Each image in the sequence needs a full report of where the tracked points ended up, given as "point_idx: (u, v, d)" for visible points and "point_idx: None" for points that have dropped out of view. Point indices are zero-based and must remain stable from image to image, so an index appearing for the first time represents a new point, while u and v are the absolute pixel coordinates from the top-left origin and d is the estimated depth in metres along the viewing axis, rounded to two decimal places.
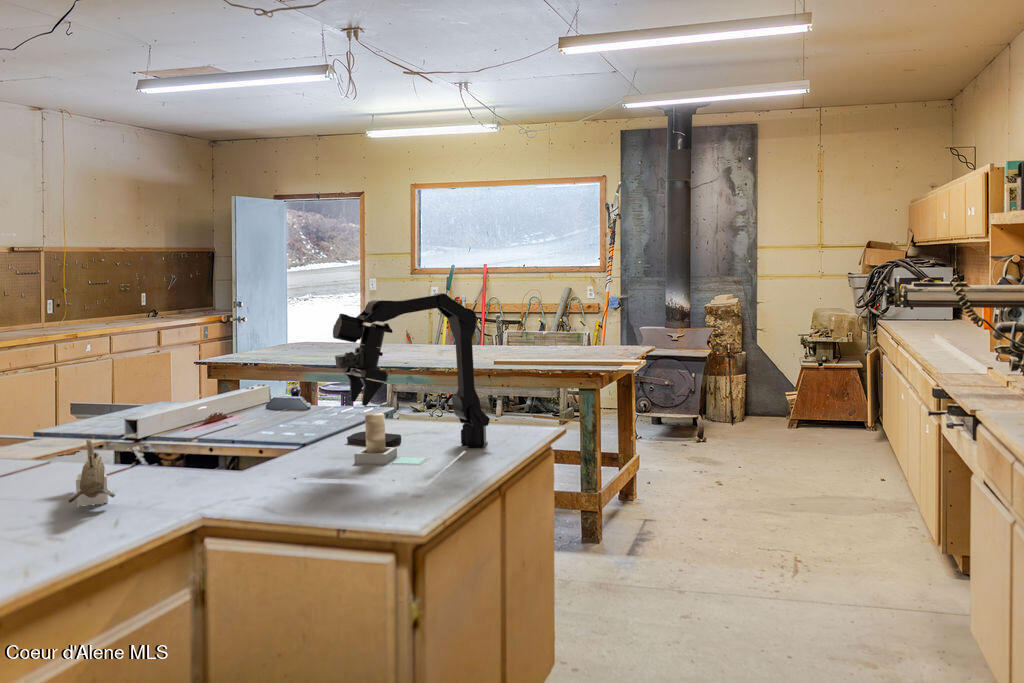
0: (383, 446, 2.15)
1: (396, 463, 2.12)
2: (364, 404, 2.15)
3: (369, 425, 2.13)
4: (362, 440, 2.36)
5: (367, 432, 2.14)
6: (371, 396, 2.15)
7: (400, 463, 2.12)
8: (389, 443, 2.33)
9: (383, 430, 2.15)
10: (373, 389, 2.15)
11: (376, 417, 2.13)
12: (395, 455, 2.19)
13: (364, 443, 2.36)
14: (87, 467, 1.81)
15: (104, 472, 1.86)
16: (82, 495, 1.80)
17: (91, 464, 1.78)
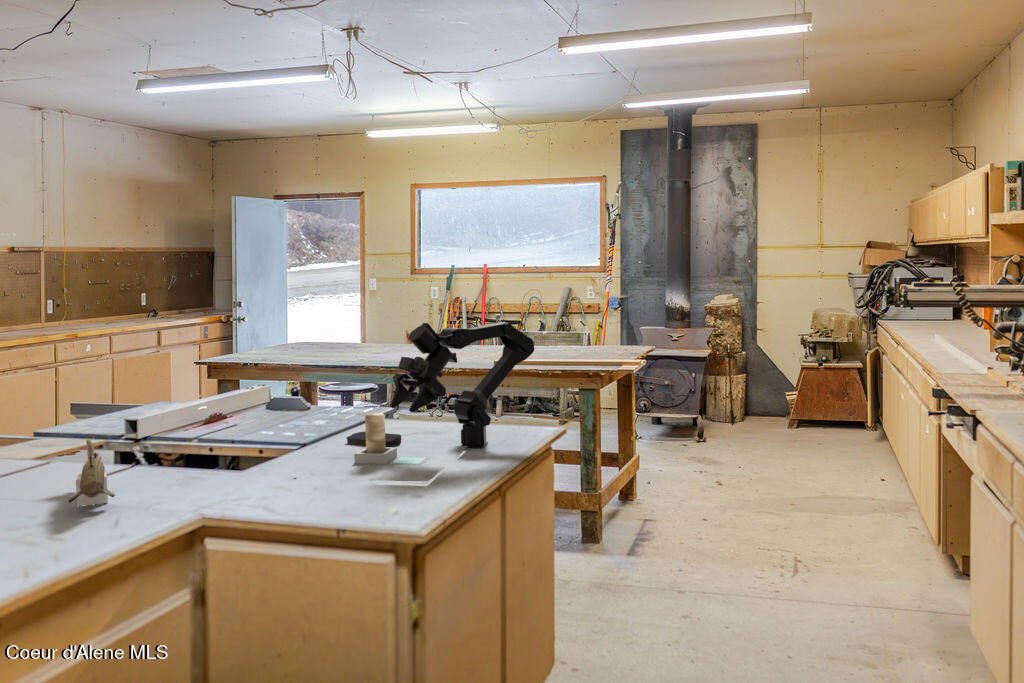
0: (383, 446, 2.15)
1: (396, 463, 2.12)
2: (411, 409, 2.17)
3: (369, 425, 2.13)
4: (362, 440, 2.36)
5: (367, 432, 2.14)
6: (420, 405, 2.18)
7: (400, 463, 2.12)
8: (389, 443, 2.33)
9: (383, 430, 2.15)
10: (425, 400, 2.19)
11: (376, 417, 2.13)
12: (395, 455, 2.19)
13: (364, 443, 2.36)
14: (87, 467, 1.81)
15: (104, 472, 1.86)
16: (82, 495, 1.80)
17: (91, 464, 1.78)
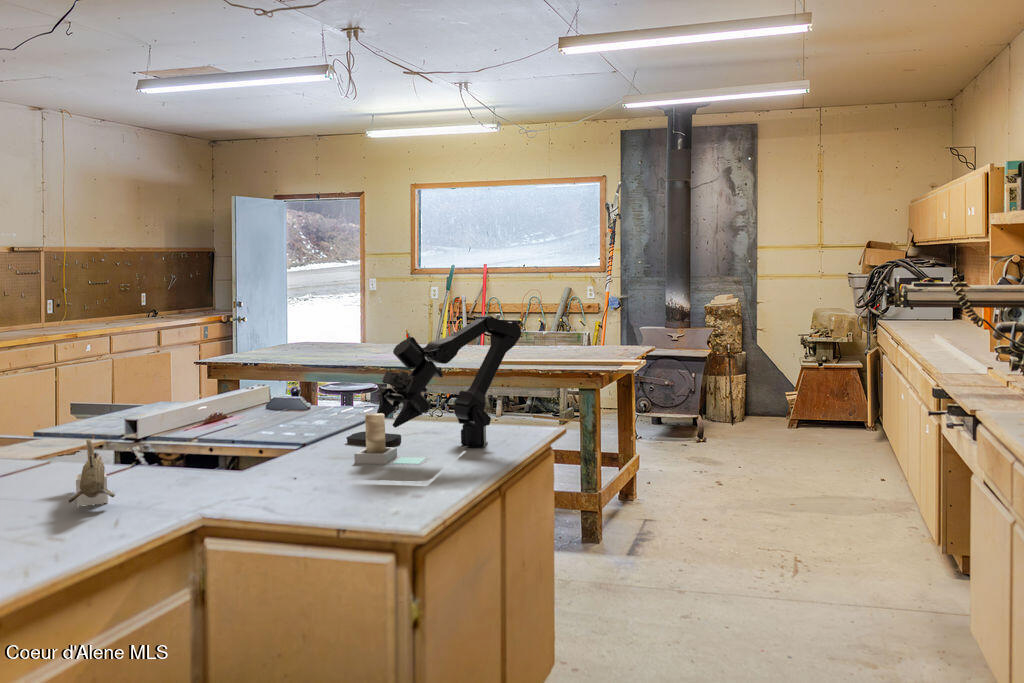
0: (383, 446, 2.15)
1: (396, 463, 2.12)
2: (395, 425, 2.14)
3: (369, 425, 2.13)
4: (362, 440, 2.36)
5: (367, 432, 2.14)
6: (404, 421, 2.15)
7: (400, 463, 2.12)
8: (390, 443, 2.33)
9: (383, 430, 2.15)
10: (409, 415, 2.15)
11: (376, 417, 2.13)
12: (395, 455, 2.19)
13: (364, 443, 2.35)
14: (87, 467, 1.81)
15: (104, 472, 1.86)
16: (82, 495, 1.80)
17: (91, 464, 1.78)
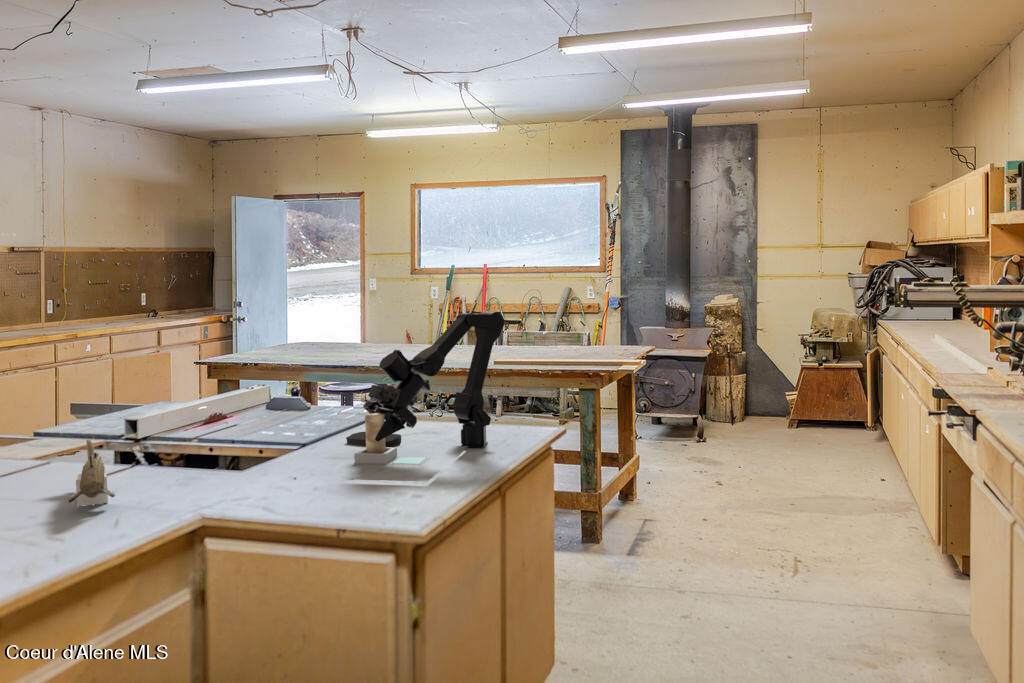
0: (383, 446, 2.15)
1: (396, 463, 2.12)
2: (377, 439, 2.13)
3: (369, 425, 2.13)
4: (362, 440, 2.36)
5: (367, 432, 2.14)
6: (387, 434, 2.14)
7: (400, 463, 2.12)
8: (390, 443, 2.33)
9: None
10: (392, 429, 2.14)
11: (376, 417, 2.13)
12: (395, 455, 2.19)
13: (364, 443, 2.35)
14: (87, 467, 1.81)
15: (104, 472, 1.86)
16: (82, 495, 1.80)
17: (91, 464, 1.78)
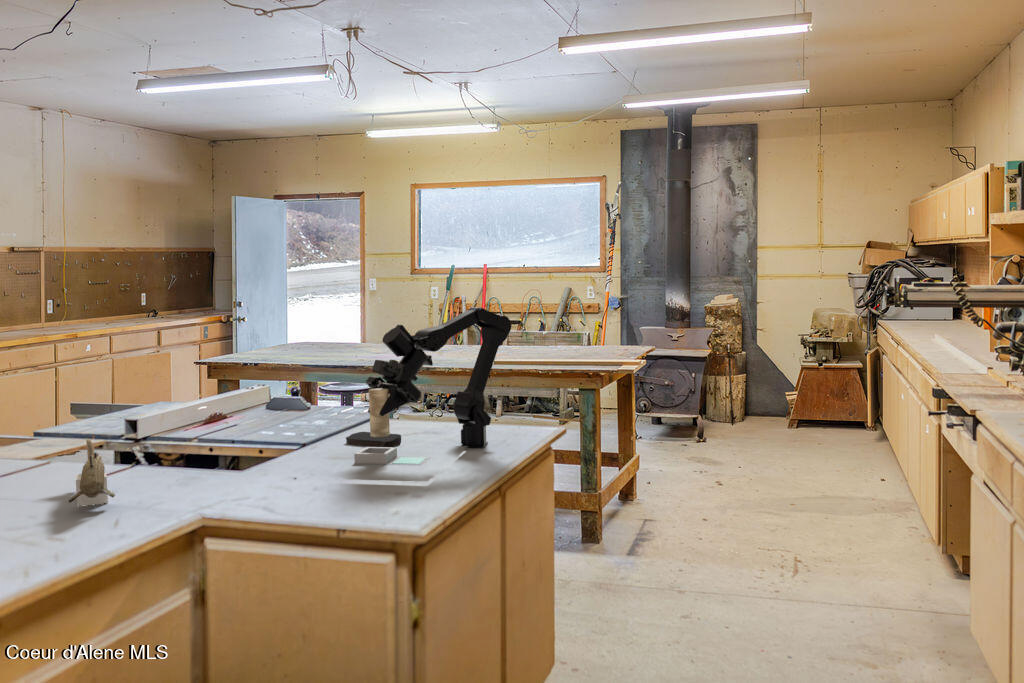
0: (387, 421, 2.14)
1: (396, 463, 2.12)
2: (382, 413, 2.12)
3: (373, 399, 2.13)
4: (362, 440, 2.36)
5: (371, 407, 2.13)
6: (391, 409, 2.13)
7: (400, 463, 2.12)
8: (390, 443, 2.33)
9: None
10: (396, 403, 2.14)
11: (380, 392, 2.12)
12: (395, 455, 2.19)
13: (364, 443, 2.35)
14: (87, 467, 1.81)
15: (104, 472, 1.86)
16: (82, 495, 1.80)
17: (91, 464, 1.78)
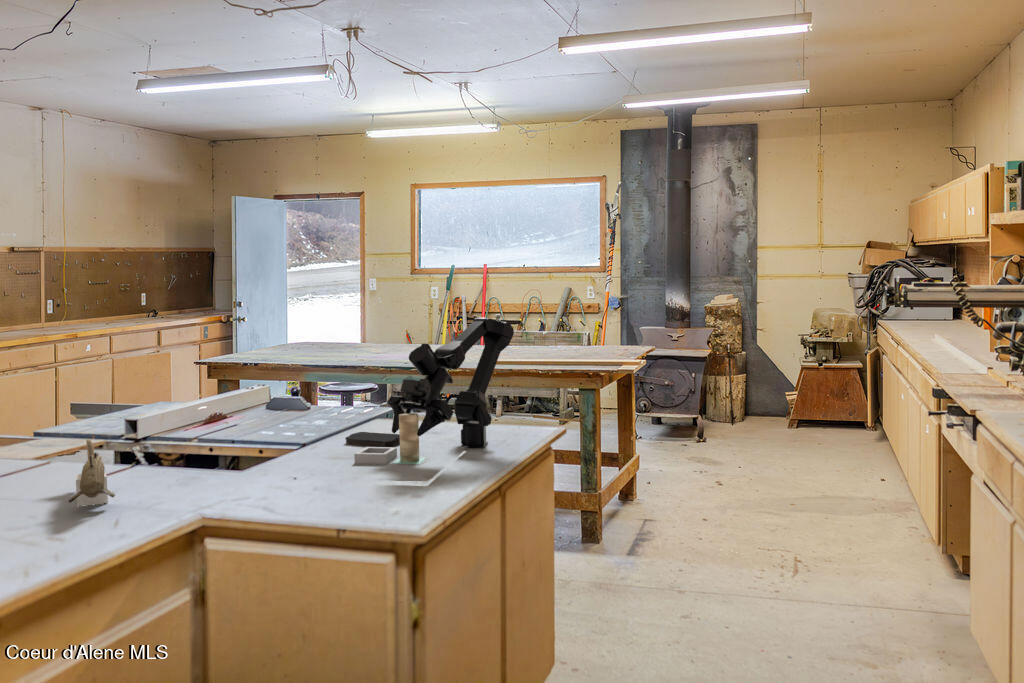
0: (418, 446, 2.14)
1: (396, 463, 2.12)
2: (419, 433, 2.11)
3: (406, 425, 2.12)
4: (362, 440, 2.35)
5: (403, 432, 2.12)
6: (427, 429, 2.12)
7: (400, 463, 2.12)
8: (391, 443, 2.33)
9: None
10: (432, 423, 2.13)
11: (413, 417, 2.12)
12: (395, 455, 2.19)
13: (364, 443, 2.35)
14: (87, 467, 1.81)
15: (104, 472, 1.86)
16: (82, 495, 1.80)
17: (91, 464, 1.78)
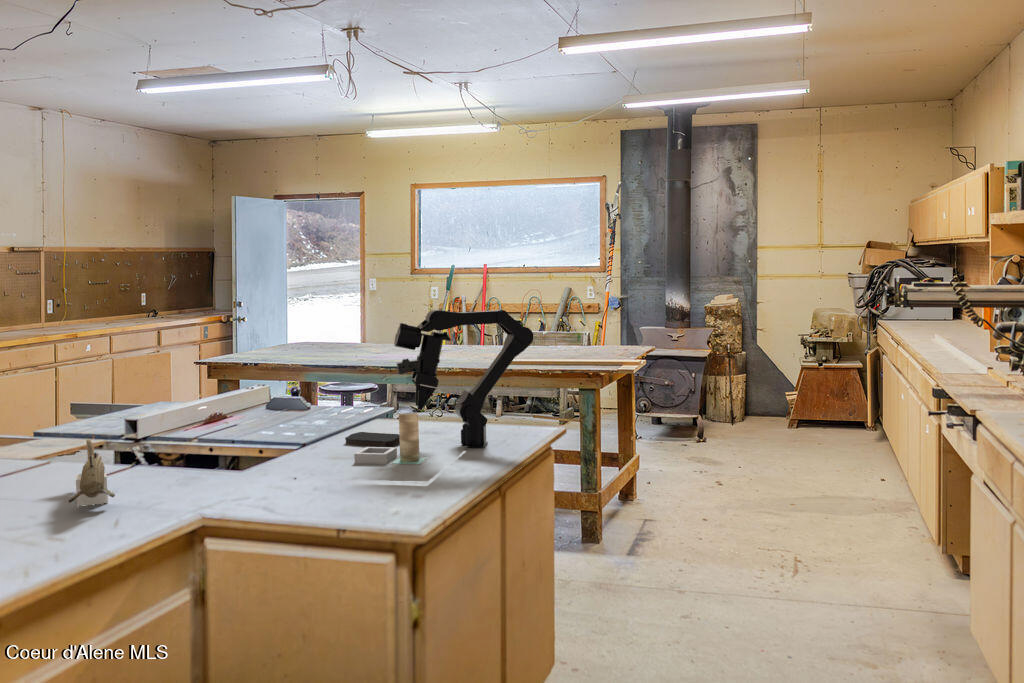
0: (418, 446, 2.14)
1: (396, 463, 2.12)
2: (420, 408, 2.27)
3: (405, 425, 2.12)
4: (362, 440, 2.35)
5: (403, 432, 2.12)
6: (425, 401, 2.27)
7: (400, 463, 2.12)
8: (391, 442, 2.33)
9: (418, 430, 2.14)
10: (427, 394, 2.26)
11: (412, 417, 2.12)
12: (395, 455, 2.19)
13: (364, 443, 2.35)
14: (87, 467, 1.81)
15: (104, 472, 1.86)
16: (82, 495, 1.80)
17: (91, 464, 1.78)
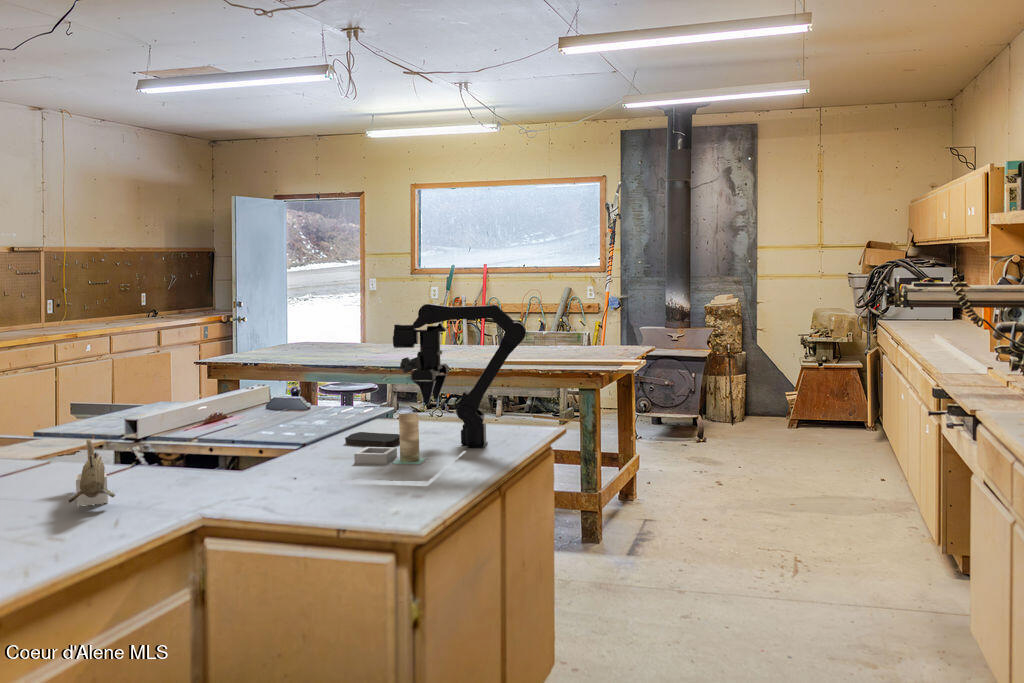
0: (418, 446, 2.14)
1: (396, 463, 2.12)
2: (426, 402, 2.32)
3: (406, 425, 2.12)
4: (362, 441, 2.35)
5: (403, 432, 2.12)
6: (429, 394, 2.31)
7: (400, 463, 2.12)
8: (391, 443, 2.33)
9: (418, 430, 2.14)
10: (428, 388, 2.30)
11: (413, 417, 2.12)
12: (395, 455, 2.19)
13: (364, 443, 2.35)
14: (87, 467, 1.81)
15: (104, 472, 1.86)
16: (82, 495, 1.80)
17: (91, 464, 1.78)
